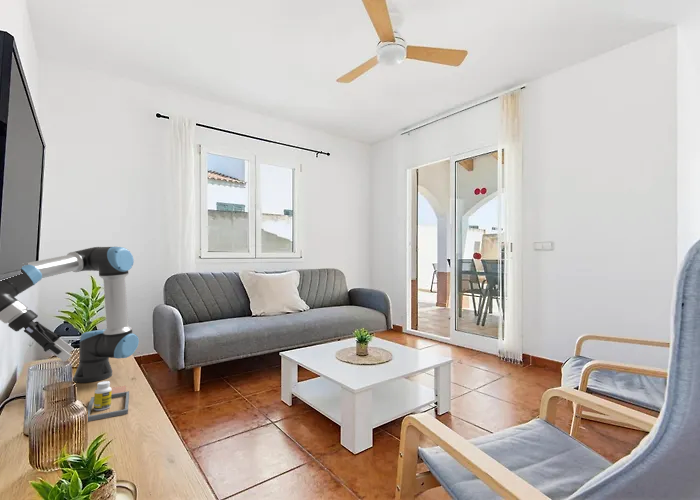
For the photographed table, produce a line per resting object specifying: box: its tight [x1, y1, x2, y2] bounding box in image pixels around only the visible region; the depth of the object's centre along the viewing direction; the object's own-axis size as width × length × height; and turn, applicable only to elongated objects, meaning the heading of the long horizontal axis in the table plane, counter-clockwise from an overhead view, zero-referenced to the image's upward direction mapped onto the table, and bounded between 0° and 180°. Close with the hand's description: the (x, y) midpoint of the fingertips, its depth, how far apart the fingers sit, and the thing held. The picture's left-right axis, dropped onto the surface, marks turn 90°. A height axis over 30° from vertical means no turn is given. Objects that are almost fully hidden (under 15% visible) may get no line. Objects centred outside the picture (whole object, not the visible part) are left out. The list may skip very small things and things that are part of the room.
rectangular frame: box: [86, 390, 130, 422], centre depth 133 cm, size 22×13×2 cm, turn 32°
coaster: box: [111, 385, 127, 394], centre depth 148 cm, size 10×10×1 cm
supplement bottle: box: [93, 380, 113, 412], centre depth 132 cm, size 5×5×10 cm
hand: (69, 355), depth 127 cm, fingers open, 13 cm apart
